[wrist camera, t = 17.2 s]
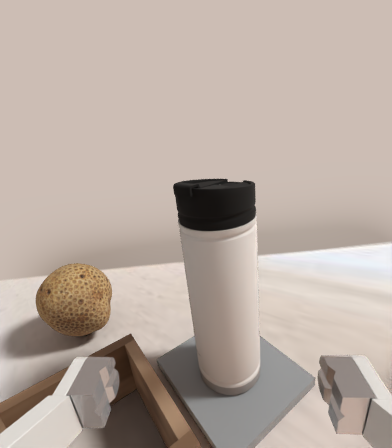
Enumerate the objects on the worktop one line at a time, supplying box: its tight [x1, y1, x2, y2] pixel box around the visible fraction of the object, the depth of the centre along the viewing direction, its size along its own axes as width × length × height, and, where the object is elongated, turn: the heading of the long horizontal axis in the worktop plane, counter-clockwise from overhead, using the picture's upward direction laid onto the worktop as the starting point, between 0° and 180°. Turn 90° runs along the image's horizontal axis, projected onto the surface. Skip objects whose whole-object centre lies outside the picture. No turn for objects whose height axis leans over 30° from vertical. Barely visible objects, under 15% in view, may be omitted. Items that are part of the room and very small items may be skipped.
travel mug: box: [173, 179, 261, 395], centre depth 23 cm, size 6×7×20 cm
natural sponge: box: [36, 263, 112, 336], centre depth 34 cm, size 9×9×10 cm
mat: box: [157, 336, 315, 448], centre depth 27 cm, size 12×11×1 cm
